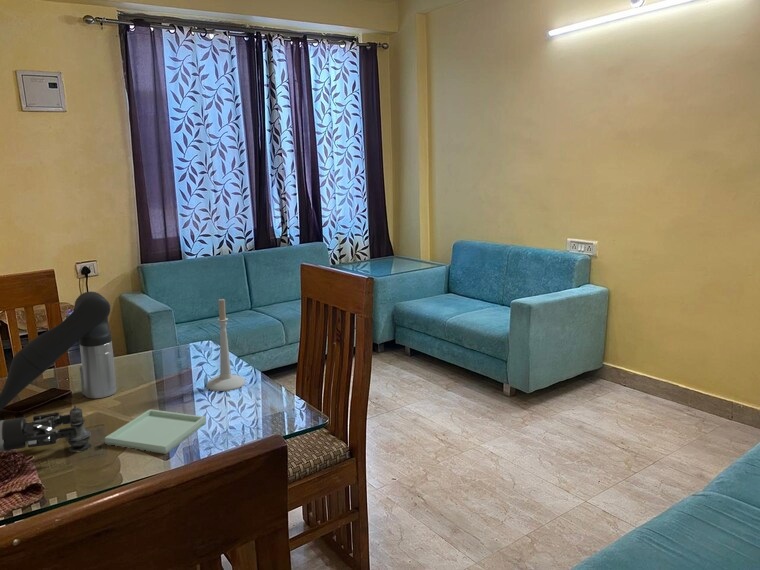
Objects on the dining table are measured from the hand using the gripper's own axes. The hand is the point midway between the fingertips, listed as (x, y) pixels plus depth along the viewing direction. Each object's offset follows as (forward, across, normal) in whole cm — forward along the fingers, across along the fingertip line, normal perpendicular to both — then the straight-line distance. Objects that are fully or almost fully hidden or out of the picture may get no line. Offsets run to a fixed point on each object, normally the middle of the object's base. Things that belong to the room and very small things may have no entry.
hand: (77, 424), depth 148 cm
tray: (+19, -1, -6) cm, 20 cm away
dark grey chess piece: (0, 0, -7) cm, 7 cm away
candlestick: (+43, -30, -6) cm, 53 cm away
